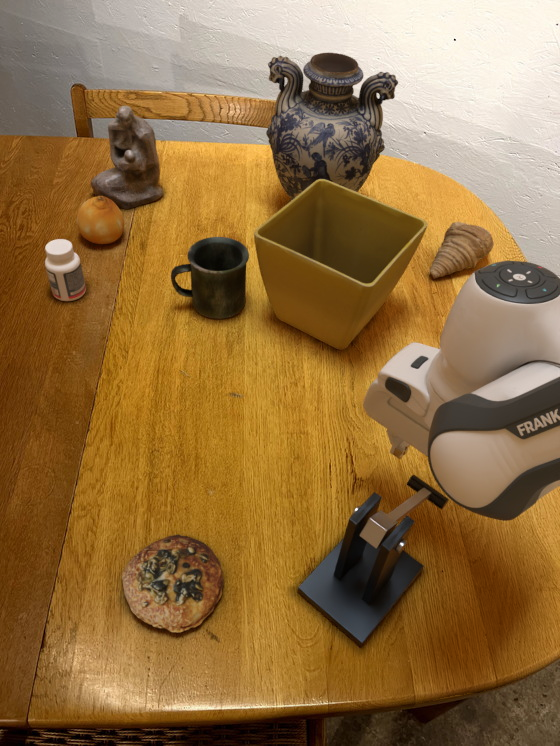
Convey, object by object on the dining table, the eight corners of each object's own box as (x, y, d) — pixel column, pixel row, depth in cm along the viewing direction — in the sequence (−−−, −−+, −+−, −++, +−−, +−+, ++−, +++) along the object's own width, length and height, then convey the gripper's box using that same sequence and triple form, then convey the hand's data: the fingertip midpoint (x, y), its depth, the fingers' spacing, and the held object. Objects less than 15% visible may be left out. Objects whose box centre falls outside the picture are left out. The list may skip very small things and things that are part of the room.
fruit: (140, 230, 113) (118, 186, 110) (102, 252, 109) (78, 208, 106) (120, 231, 119) (98, 190, 116) (83, 252, 116) (60, 211, 112)
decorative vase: (373, 193, 130) (401, 47, 110) (368, 247, 118) (399, 95, 97) (268, 178, 132) (276, 32, 111) (252, 231, 119) (258, 77, 98)
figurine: (89, 208, 121) (72, 114, 107) (98, 174, 128) (83, 83, 115) (161, 210, 122) (153, 118, 108) (165, 177, 129) (158, 86, 116)
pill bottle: (89, 281, 107) (80, 237, 100) (82, 303, 103) (73, 258, 97) (56, 280, 106) (45, 235, 100) (48, 301, 103) (36, 256, 96)
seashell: (432, 295, 117) (470, 298, 111) (413, 263, 112) (453, 264, 106) (467, 241, 121) (506, 241, 115) (450, 208, 116) (490, 206, 110)
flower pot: (407, 306, 108) (431, 220, 95) (351, 374, 96) (370, 287, 84) (309, 262, 114) (320, 176, 102) (247, 321, 103) (250, 233, 90)
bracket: (360, 523, 80) (380, 458, 70) (421, 570, 76) (452, 509, 66) (296, 591, 73) (308, 531, 63) (360, 647, 70) (383, 592, 59)
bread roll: (219, 533, 77) (217, 517, 73) (228, 631, 71) (227, 619, 67) (124, 545, 76) (117, 530, 72) (125, 645, 70) (117, 635, 66)
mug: (252, 318, 103) (255, 269, 96) (177, 327, 101) (173, 278, 93) (241, 282, 109) (242, 233, 102) (169, 290, 106) (165, 241, 99)
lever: (407, 485, 80) (417, 470, 79) (442, 510, 78) (452, 494, 77) (347, 527, 66) (358, 508, 65) (387, 558, 64) (399, 540, 63)
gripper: (575, 441, 62) (525, 514, 73) (400, 334, 71) (377, 413, 81) (546, 481, 59) (497, 552, 69) (366, 364, 67) (346, 442, 78)
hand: (431, 476), depth 75 cm, fingers open, 8 cm apart
